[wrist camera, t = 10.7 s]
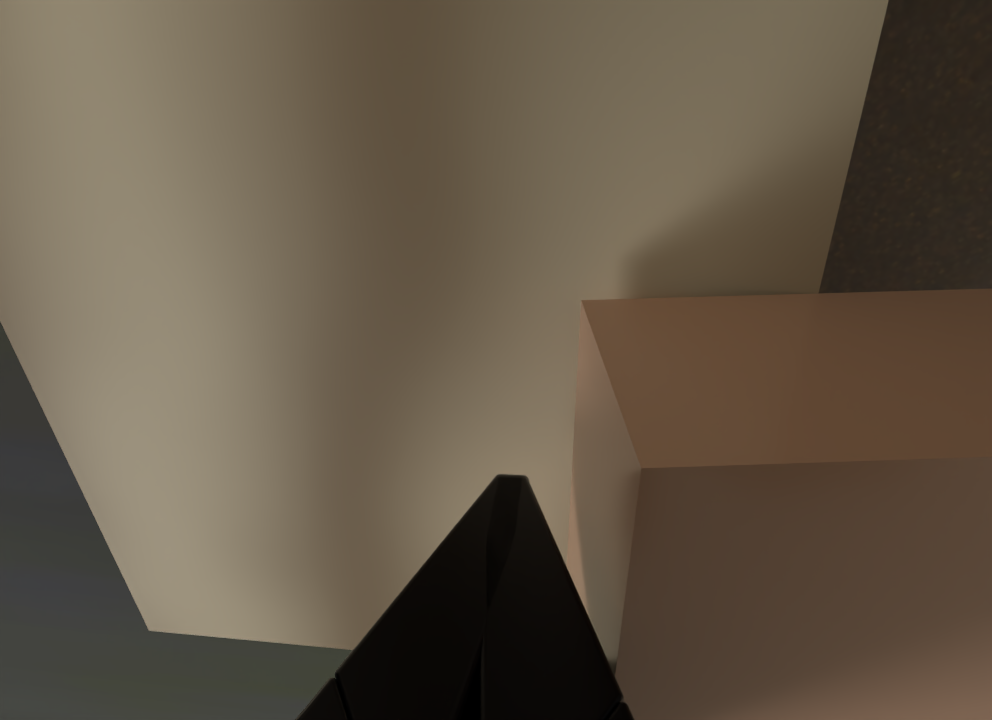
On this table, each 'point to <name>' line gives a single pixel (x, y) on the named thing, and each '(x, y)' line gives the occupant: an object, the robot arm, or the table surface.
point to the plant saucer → (921, 157)
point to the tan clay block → (788, 503)
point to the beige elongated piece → (378, 256)
